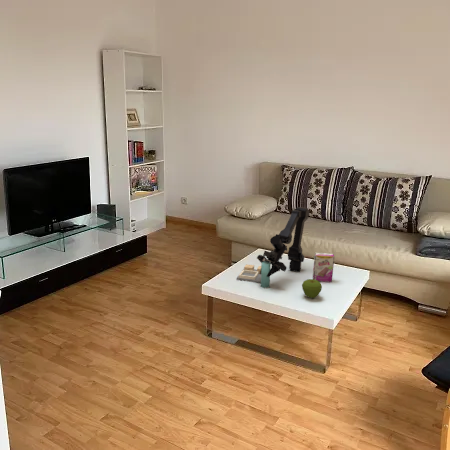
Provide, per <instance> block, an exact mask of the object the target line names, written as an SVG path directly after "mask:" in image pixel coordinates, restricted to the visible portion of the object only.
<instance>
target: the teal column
mask: <svg viewBox="0 0 450 450" xmlns="http://www.w3.org/2000/svg"><path fill="white" fill-rule="evenodd" d="M261 265H262V267H261V283H260V287H261V288H263V289H269V288H270V287H271V285H270V284H271V276H269V277H267V275H268V273H269V271H270V269H271V266H272V264H271V263H270V262H262V263H261Z"/></svg>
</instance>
